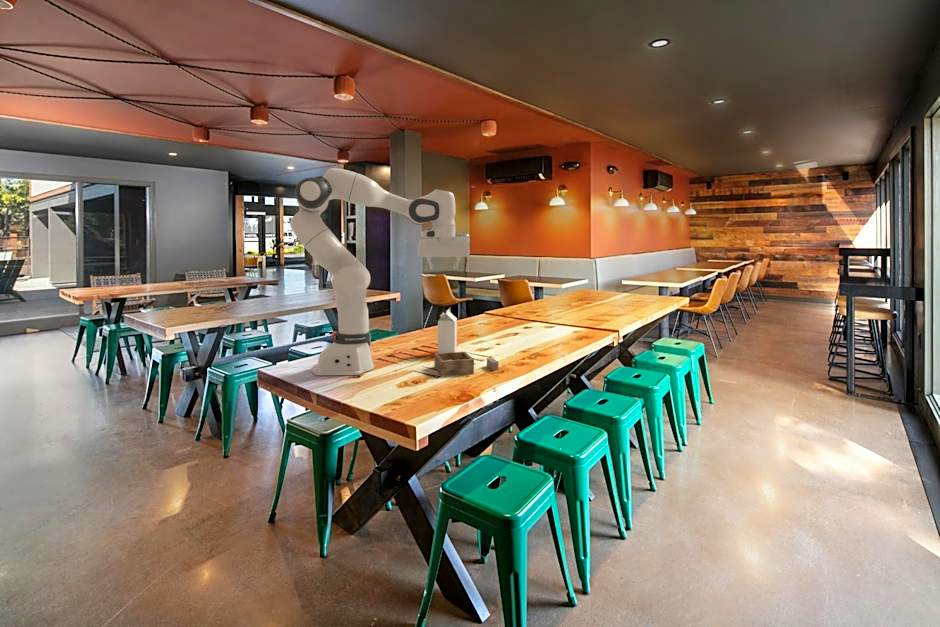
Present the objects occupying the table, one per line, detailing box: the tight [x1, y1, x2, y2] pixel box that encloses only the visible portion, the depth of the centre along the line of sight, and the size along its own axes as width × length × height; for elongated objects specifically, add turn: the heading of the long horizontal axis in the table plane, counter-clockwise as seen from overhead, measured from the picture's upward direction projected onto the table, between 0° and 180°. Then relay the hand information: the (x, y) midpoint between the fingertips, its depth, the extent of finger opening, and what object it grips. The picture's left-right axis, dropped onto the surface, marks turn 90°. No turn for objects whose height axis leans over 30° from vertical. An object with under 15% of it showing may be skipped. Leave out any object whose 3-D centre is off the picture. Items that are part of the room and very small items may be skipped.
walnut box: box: [433, 351, 475, 377], centre depth 182 cm, size 12×12×6 cm
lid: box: [486, 357, 499, 371], centre depth 185 cm, size 13×13×4 cm
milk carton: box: [437, 308, 458, 353], centre depth 206 cm, size 7×7×19 cm
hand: (443, 268), depth 191 cm, fingers open, 8 cm apart
